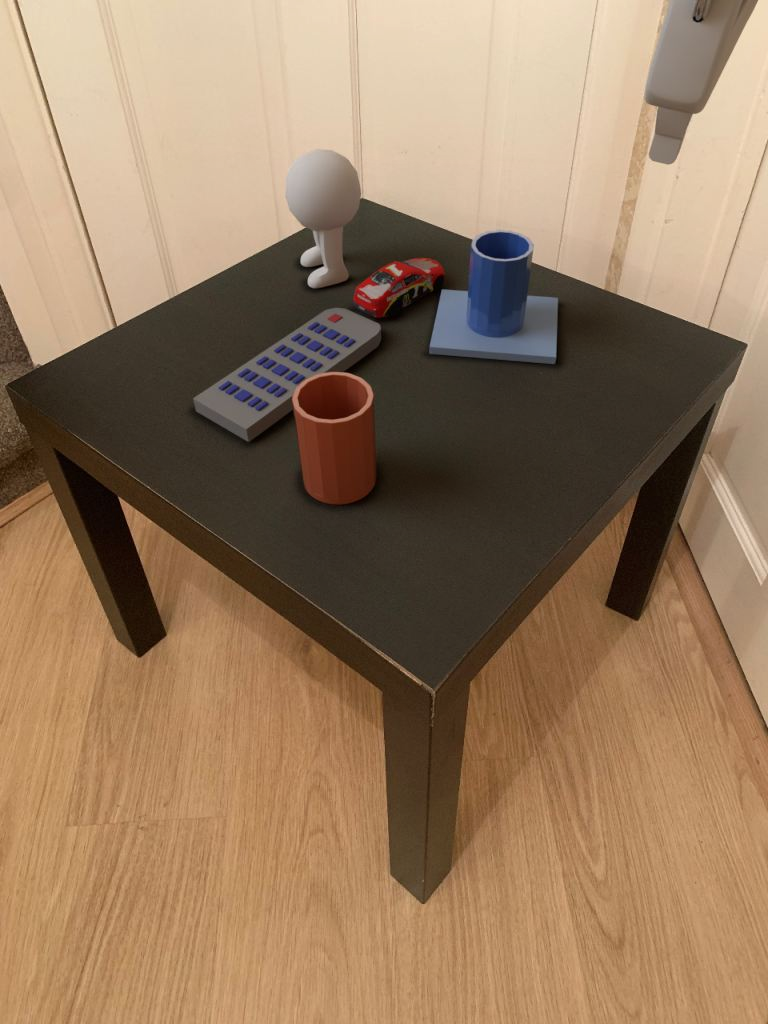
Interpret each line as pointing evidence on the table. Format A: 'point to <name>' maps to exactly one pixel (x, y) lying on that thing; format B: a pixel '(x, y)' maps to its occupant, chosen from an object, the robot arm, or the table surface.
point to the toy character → (323, 209)
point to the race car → (398, 286)
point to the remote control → (287, 371)
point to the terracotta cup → (336, 436)
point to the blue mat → (524, 345)
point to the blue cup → (498, 282)
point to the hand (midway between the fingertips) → (676, 132)
